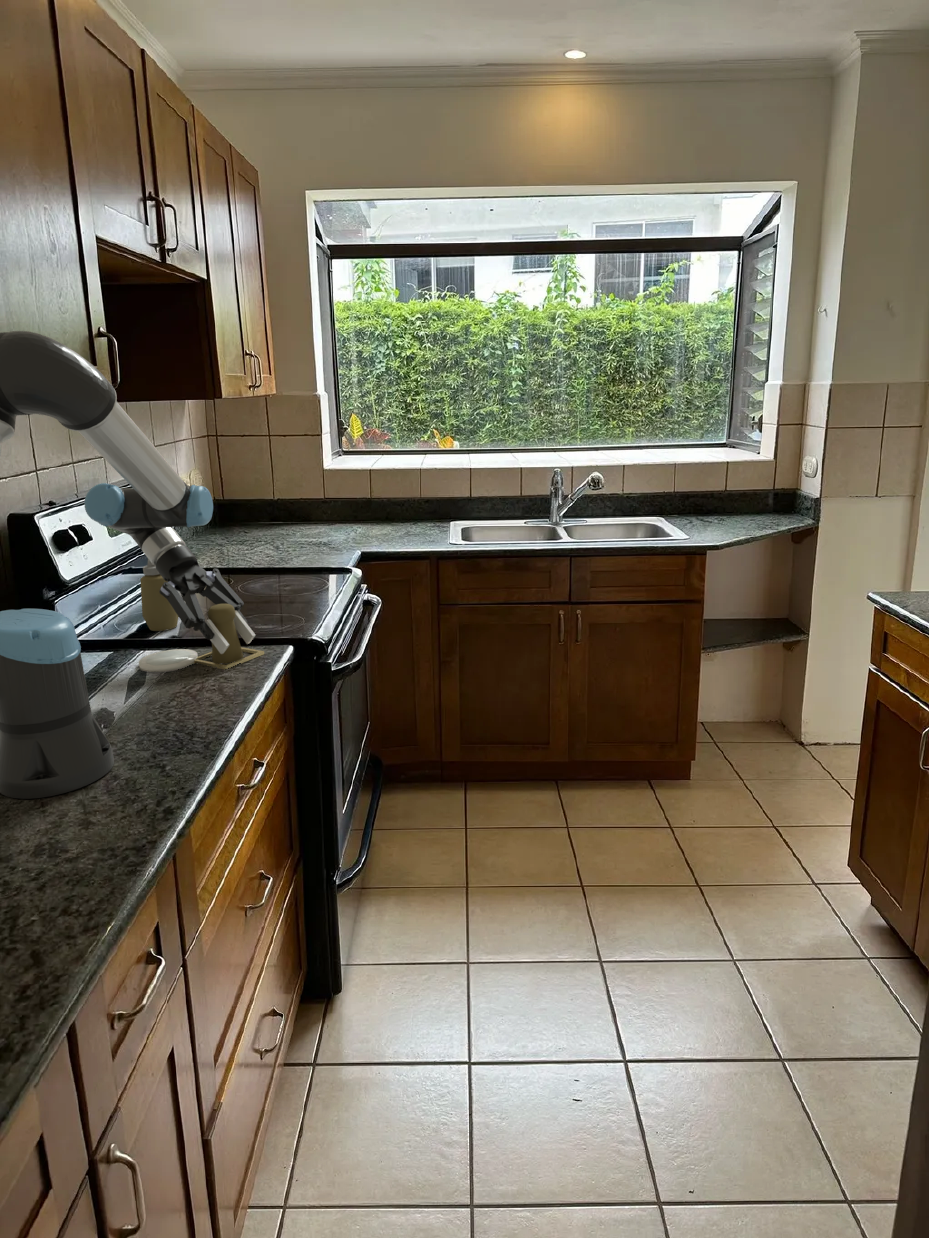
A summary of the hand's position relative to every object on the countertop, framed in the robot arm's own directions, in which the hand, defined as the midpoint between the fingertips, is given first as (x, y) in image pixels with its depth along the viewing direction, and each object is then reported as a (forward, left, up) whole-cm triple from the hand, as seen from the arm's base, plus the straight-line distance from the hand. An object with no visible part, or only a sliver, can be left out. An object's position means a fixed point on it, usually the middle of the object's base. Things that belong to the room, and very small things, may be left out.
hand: (238, 644), depth 162 cm
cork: (0, +4, -4) cm, 5 cm away
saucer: (-7, +13, -3) cm, 15 cm away
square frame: (0, +4, -3) cm, 5 cm away
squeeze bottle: (+9, +35, -4) cm, 36 cm away
